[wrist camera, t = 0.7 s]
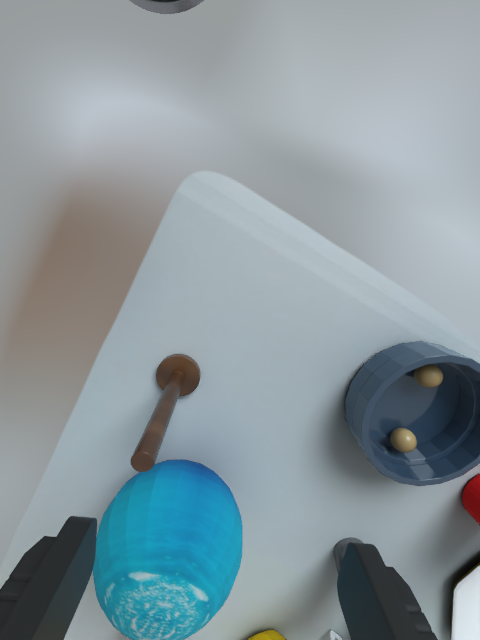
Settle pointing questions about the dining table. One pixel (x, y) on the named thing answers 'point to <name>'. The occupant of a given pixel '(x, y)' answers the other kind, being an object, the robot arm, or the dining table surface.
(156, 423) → the stirrer
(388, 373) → the bowl
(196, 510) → the decorative orb
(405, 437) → the bead
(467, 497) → the soda can
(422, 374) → the bead
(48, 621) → the robot arm
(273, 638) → the duckling
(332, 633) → the spatula
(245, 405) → the dining table surface
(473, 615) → the plate
